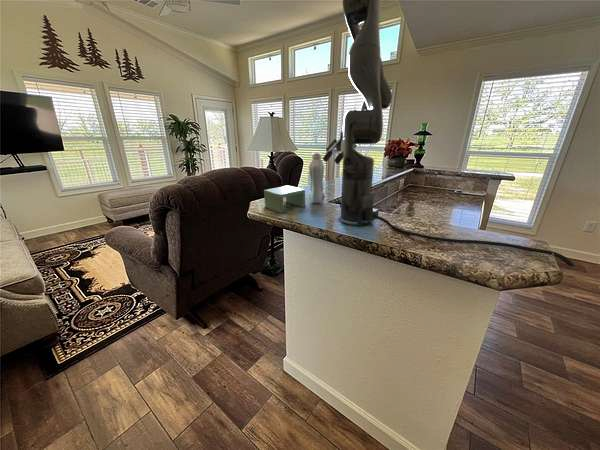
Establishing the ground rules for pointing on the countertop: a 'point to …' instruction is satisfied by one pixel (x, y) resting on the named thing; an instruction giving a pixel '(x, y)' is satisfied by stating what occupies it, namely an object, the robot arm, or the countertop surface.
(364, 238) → the countertop surface
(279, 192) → the mint green box
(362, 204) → the robot arm
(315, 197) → the plastic bottle
